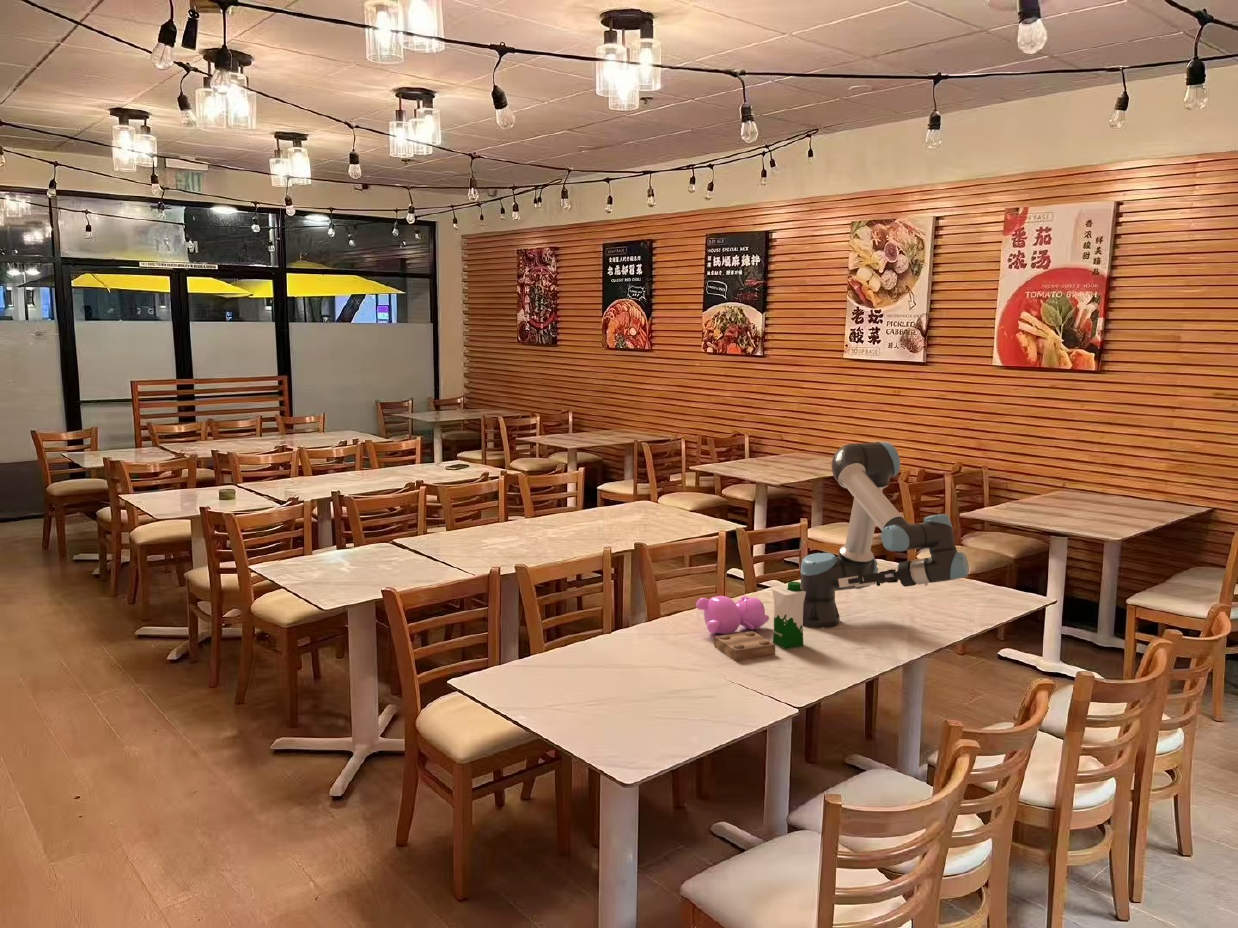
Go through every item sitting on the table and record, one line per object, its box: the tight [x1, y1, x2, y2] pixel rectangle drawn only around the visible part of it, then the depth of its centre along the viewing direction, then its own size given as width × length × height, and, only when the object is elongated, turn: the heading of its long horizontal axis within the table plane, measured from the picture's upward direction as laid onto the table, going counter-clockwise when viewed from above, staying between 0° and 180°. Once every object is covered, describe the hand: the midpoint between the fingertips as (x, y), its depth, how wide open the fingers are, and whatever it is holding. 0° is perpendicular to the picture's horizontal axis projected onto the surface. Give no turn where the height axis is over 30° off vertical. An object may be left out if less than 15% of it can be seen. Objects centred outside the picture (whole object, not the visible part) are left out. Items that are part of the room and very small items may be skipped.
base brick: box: [713, 630, 776, 662], centre depth 285 cm, size 14×14×4 cm
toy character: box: [695, 595, 770, 635], centre depth 304 cm, size 16×13×25 cm
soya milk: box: [772, 581, 806, 650], centre depth 289 cm, size 9×9×20 cm
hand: (847, 583), depth 283 cm, fingers open, 13 cm apart
